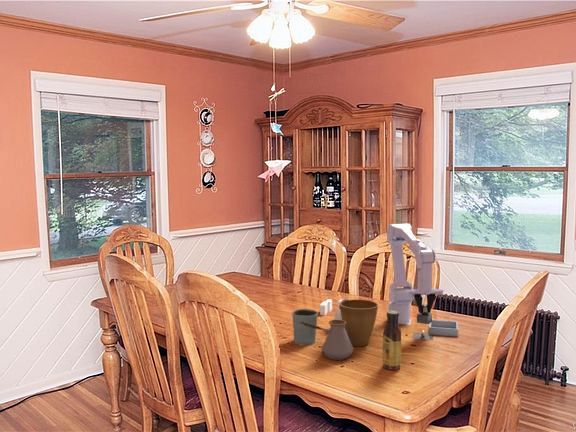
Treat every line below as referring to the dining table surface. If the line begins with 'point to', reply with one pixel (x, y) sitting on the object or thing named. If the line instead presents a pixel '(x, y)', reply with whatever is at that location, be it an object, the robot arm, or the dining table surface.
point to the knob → (424, 315)
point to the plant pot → (359, 320)
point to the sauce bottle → (392, 342)
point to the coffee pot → (335, 340)
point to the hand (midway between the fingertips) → (424, 312)
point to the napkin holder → (325, 307)
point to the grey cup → (304, 333)
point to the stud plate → (422, 336)
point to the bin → (443, 328)
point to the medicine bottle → (338, 313)
